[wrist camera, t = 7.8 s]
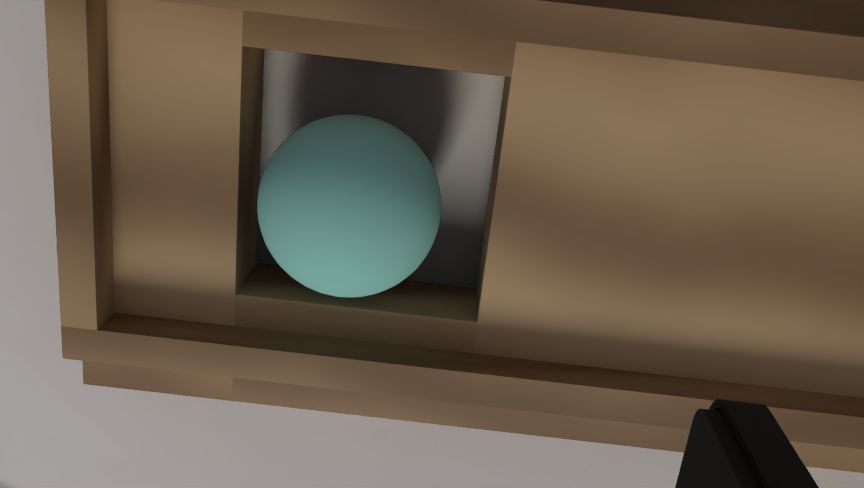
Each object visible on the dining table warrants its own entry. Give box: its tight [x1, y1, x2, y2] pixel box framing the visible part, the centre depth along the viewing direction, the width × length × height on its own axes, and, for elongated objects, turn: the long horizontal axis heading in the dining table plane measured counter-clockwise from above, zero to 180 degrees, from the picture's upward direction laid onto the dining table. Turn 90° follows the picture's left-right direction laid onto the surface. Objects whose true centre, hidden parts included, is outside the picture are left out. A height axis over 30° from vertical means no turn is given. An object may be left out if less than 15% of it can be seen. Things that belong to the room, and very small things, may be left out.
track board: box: [44, 0, 864, 473], centre depth 23 cm, size 14×26×4 cm, turn 84°
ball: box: [257, 114, 441, 297], centre depth 22 cm, size 5×5×5 cm
